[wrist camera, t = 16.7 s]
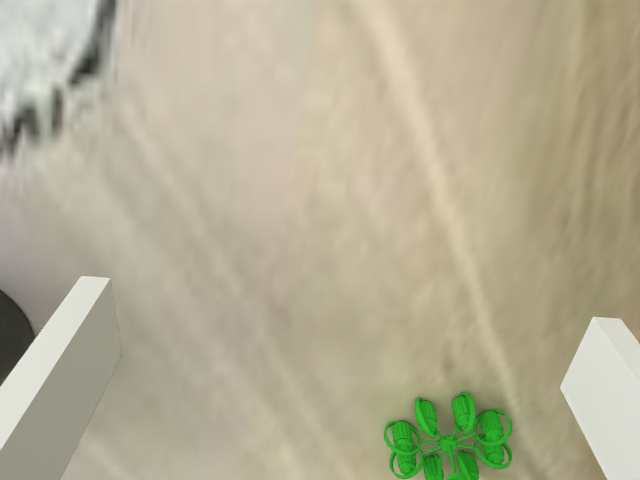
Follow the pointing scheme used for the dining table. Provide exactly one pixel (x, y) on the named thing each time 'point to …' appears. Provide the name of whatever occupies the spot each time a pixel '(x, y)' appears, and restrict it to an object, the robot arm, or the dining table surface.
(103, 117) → the dining table surface
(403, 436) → the chandelier
